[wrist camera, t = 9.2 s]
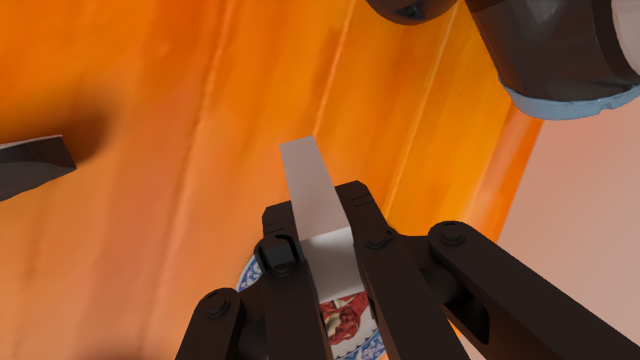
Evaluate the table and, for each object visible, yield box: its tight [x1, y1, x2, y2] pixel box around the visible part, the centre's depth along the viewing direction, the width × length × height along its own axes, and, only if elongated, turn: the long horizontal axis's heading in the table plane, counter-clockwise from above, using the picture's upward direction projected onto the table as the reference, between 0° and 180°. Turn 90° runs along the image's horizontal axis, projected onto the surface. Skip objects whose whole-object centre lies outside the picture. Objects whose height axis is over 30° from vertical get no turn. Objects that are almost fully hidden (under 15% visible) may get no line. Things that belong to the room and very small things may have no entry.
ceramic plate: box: [236, 255, 386, 360], centre depth 53 cm, size 26×26×3 cm
